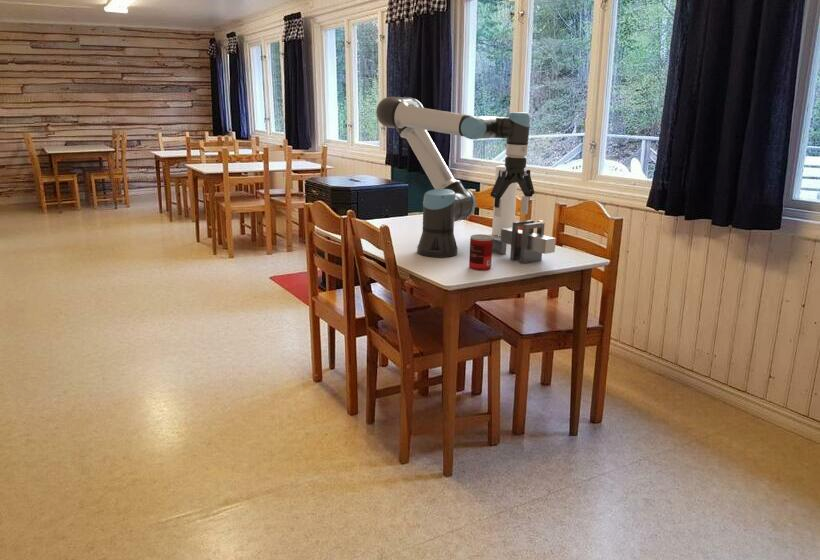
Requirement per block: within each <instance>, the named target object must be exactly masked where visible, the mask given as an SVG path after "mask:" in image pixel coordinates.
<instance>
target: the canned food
mask: <svg viewBox="0 0 820 560" xmlns="http://www.w3.org/2000/svg"><path fill="white" fill-rule="evenodd" d="M469 240H470V241H469V259H468V266H469V268H470V269H471V270H474V271H489V270H490V269H491V268H492V258H493V252H492V246H493V235H492V236H491V235H489V234H472V235H470V239H469Z"/></svg>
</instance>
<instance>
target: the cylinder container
mask: <svg viewBox="0 0 820 560" xmlns="http://www.w3.org/2000/svg"><path fill="white" fill-rule="evenodd" d="M500 170H502V171H506V167H505V164H504V165H503V164H501V165H496V166H495V176H494V177H495V181H494V184H495V183H496V180H497V178H498V174H499V171H500ZM494 194H495V193H494ZM517 195H518V183H516V182H515V183H512V184H510V185H509V186H508V188H507V189H506V191H505V192H504V194H503V195H502V197H501V198H500V199H502V211H501V217H497V216H494V214H495V207H494V206H493V210H492V211H493V212H492V214H493V215H492V227H491V229H492V230H491V235H492V234H494V235H499V236H501V229H504V228H512V227H513V222H516V221H515V220H516V208H517ZM494 201H495V198H493V202H494ZM494 235H493V236H494ZM499 236H498V237H499Z"/></svg>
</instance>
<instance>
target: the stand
mask: <svg viewBox="0 0 820 560" xmlns="http://www.w3.org/2000/svg"><path fill="white" fill-rule="evenodd" d="M492 237H493V236H492ZM500 240H501V238H497V237H495V236H494V237H493V246H492V253H495V254H499V255H505V254H507V246H508V244H506V243H502V242H500Z"/></svg>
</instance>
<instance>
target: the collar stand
mask: <svg viewBox="0 0 820 560" xmlns="http://www.w3.org/2000/svg"><path fill="white" fill-rule="evenodd" d="M545 226H546V225H545V220H537V222H535V220H534V219H527V220H518V221H515V222H513V227H512V241H511V245H510V258H509V260H510V261H512V262H515V261H519V263H520V264H521V265H523V264H530V263H536V262H541V261H543V259H542V258H543V257H542V256H543V253H540V252H536V251H532V250H529V249H527V243H528V232H532V233H534V229H536V234H540V235H544V236H545ZM519 227H522V230H523V231H522V244H521V247H517V238H518V229H519Z"/></svg>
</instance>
